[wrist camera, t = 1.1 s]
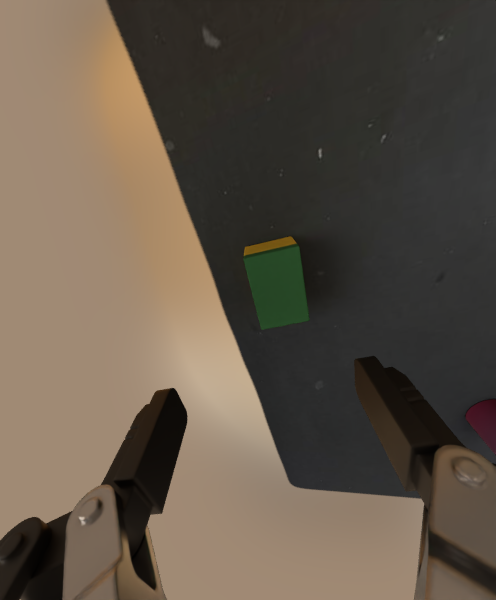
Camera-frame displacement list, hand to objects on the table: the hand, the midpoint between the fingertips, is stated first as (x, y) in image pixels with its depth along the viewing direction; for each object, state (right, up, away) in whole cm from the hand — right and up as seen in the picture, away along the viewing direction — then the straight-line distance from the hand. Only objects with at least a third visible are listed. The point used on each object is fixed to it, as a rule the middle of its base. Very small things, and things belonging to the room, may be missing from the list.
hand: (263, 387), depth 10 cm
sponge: (+2, +6, +13) cm, 15 cm away
